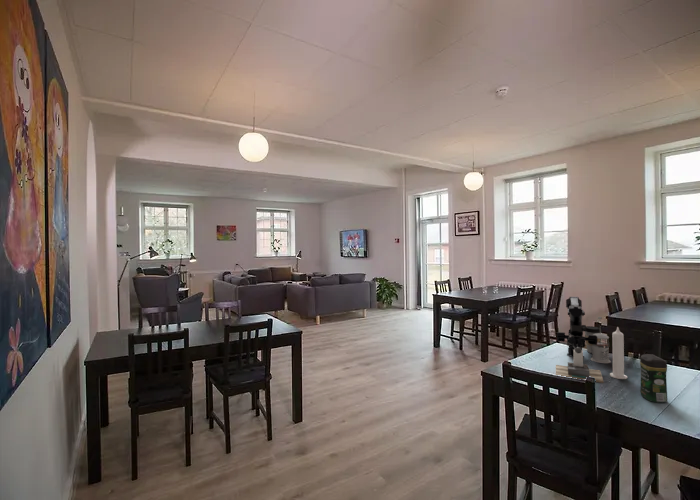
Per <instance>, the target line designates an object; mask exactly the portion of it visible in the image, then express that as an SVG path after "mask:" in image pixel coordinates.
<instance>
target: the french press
mask: <svg viewBox="0 0 700 500" xmlns="http://www.w3.org/2000/svg"><path fill="white" fill-rule="evenodd" d="M598 319H599V320H602V319H603V318H602V316H598V317H597V320H598ZM593 335H596V336H597V338H598V339H600V342H597V344H596V345H592V353H591V355H592V357H591V358H590V361H592V362H595V363H601V364H611V363H612V361H611V360H610V358H609V357H610V356H609V354H610V353H609V352H610V351H609V347H610V345H609V343H610V342H609V338H610V337H609V336H608V335H607V334H605V333H602V332H601V333H598V334H593ZM601 340H604V341H605V342H603V341H601ZM607 342H608V343H607ZM594 346H597V347H594ZM598 347H599V348H598Z"/></svg>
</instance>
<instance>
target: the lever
mask: <svg viewBox="0 0 700 500" xmlns="http://www.w3.org/2000/svg"><path fill="white" fill-rule="evenodd" d="M583 356H584V350H583V348H582V349H581V348H579V347H576V348H575V349H574V357H572V358H573V360H572V361H573V362H572V363H573V364H574V366H581V367H583V364H584V357H583Z"/></svg>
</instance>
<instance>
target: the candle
mask: <svg viewBox="0 0 700 500" xmlns="http://www.w3.org/2000/svg"><path fill="white" fill-rule="evenodd" d="M611 335H612V372H610V373H609V377H611V378H613V379H618V380H627V379H628V376H627V375H625V352H624V351H625V350H624V349H625V347H624V346H625V345H624V344H625V340H624V338H625V337H624V336H625V335H624V333H623V332H621V330H620V328H619V326H617V327H616V330H615V331H613V332H612V334H611Z"/></svg>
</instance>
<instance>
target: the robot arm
mask: <svg viewBox="0 0 700 500" xmlns="http://www.w3.org/2000/svg"><path fill="white" fill-rule="evenodd" d="M582 302H583V301H582V300H581V299H580V298H579V297H578V296H569V297H568V298H567V299H566V300H565V307H566V309H567V315H568V317H569V330H568V334H566V332H565V331H563V332H562V331H557V332H556V341H558V342H565V341H566V346H567V353H566V355H567V356H570V357H572V358H573V357H574V349H575V348H576V347H579V348H581V349H582V350H583V348H585V347H586V341H588V343H589V344H593V345H596V344H597V340H598V339H597V336H596V335H588V337H585V336H583V335H584V333H585V332H586V324H583V322H582V321H583V317H584V316H586V312H585V311H584V309H583V308H582V306H583V305H582V304H583V303H582ZM583 358H585V356H584V355H583Z"/></svg>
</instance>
